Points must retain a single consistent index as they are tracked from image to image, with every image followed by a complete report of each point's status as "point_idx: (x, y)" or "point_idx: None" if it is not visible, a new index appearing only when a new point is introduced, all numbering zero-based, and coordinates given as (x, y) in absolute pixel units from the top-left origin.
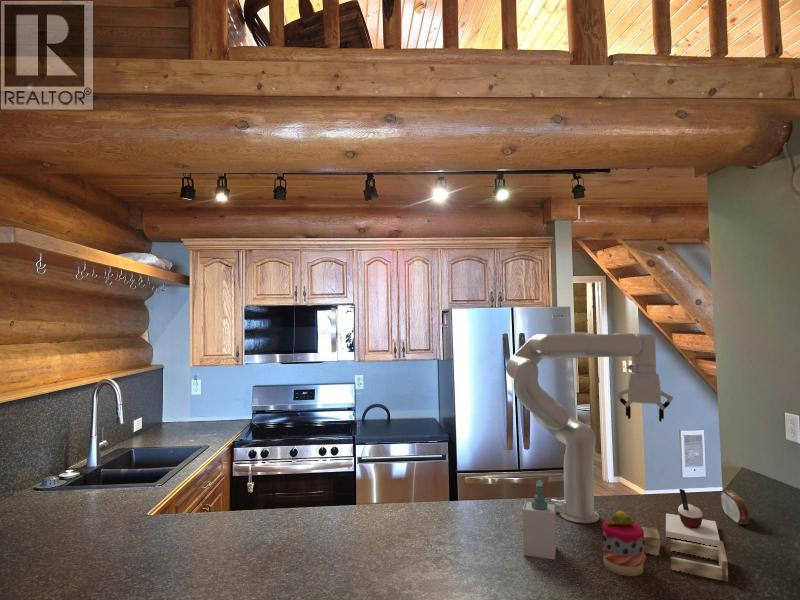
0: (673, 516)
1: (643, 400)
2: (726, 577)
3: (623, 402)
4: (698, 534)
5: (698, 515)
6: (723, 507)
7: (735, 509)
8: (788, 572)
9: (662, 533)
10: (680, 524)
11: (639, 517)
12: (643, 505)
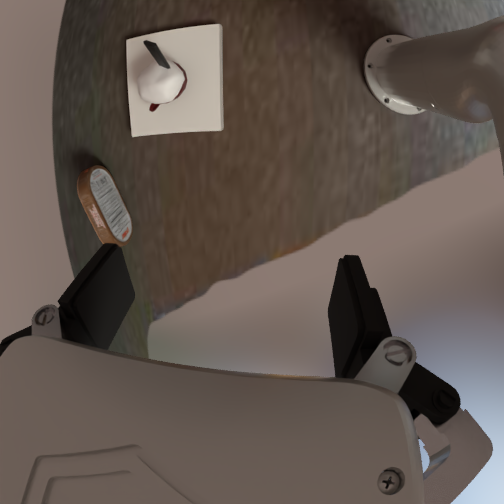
0: (205, 118)
1: (161, 396)
2: None
3: (425, 384)
4: (158, 43)
5: (144, 69)
6: (130, 226)
7: (99, 185)
8: (64, 23)
9: (229, 45)
10: (190, 77)
11: (278, 114)
12: (271, 195)
